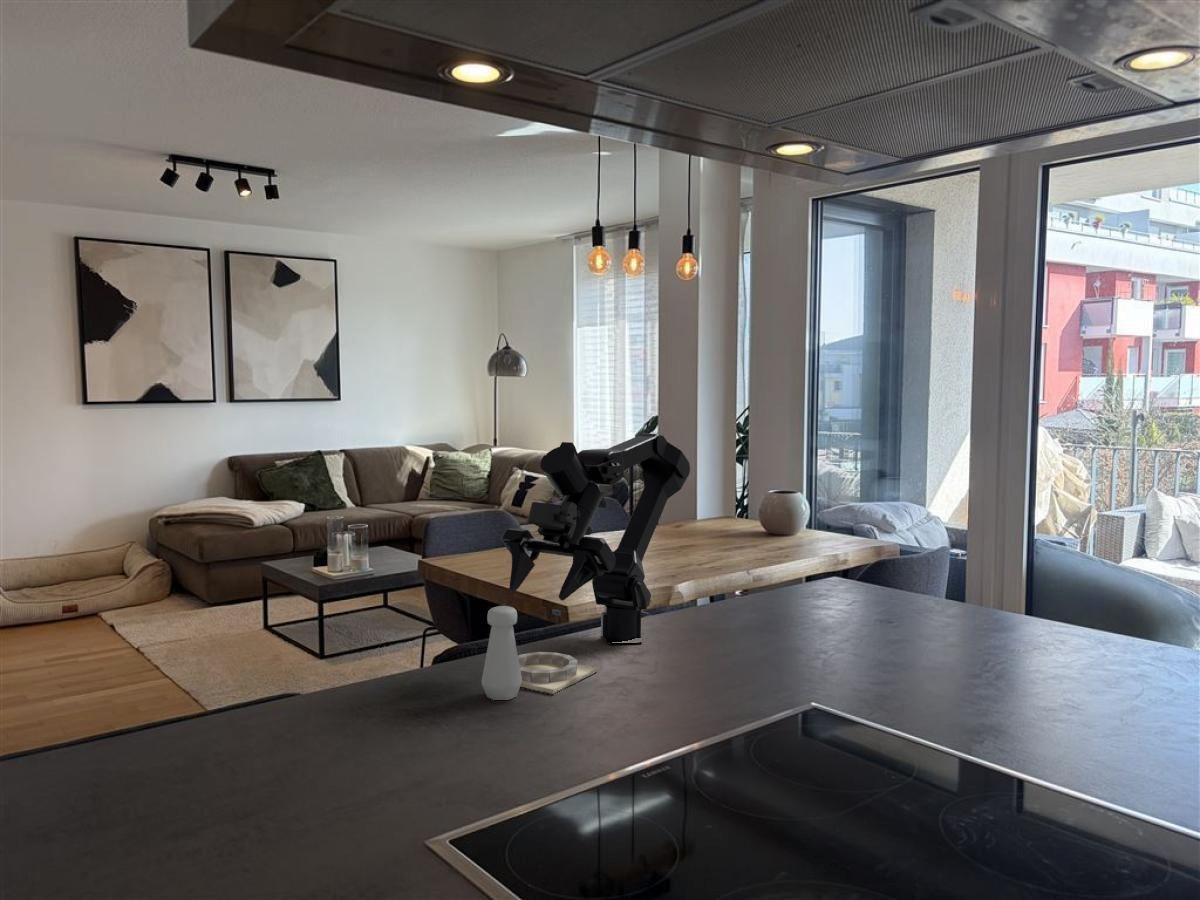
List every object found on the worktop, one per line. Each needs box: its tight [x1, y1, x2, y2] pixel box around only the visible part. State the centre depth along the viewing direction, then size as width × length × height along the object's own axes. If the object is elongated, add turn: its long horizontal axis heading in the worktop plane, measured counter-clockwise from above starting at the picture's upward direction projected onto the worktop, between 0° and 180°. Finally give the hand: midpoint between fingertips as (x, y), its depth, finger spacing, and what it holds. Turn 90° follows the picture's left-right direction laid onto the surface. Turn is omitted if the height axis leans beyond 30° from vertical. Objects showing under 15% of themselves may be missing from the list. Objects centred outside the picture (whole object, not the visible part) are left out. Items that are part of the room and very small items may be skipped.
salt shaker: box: [481, 605, 522, 701], centre depth 126 cm, size 6×6×13 cm
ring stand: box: [518, 651, 598, 693], centre depth 135 cm, size 12×12×2 cm
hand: (535, 595), depth 133 cm, fingers open, 9 cm apart
